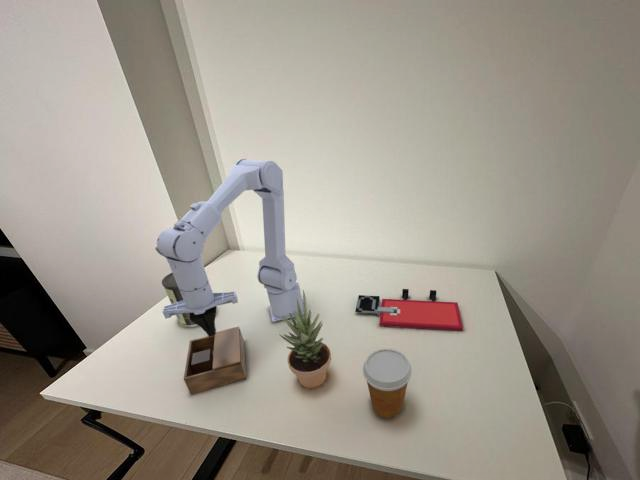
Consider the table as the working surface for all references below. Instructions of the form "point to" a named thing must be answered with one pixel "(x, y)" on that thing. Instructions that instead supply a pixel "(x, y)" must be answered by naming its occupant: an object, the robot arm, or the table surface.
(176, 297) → the coffee can
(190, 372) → the wooden box
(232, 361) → the flap
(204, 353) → the block
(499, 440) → the table surface
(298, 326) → the potted plant
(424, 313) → the red board with handle
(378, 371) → the disposable coffee cup
